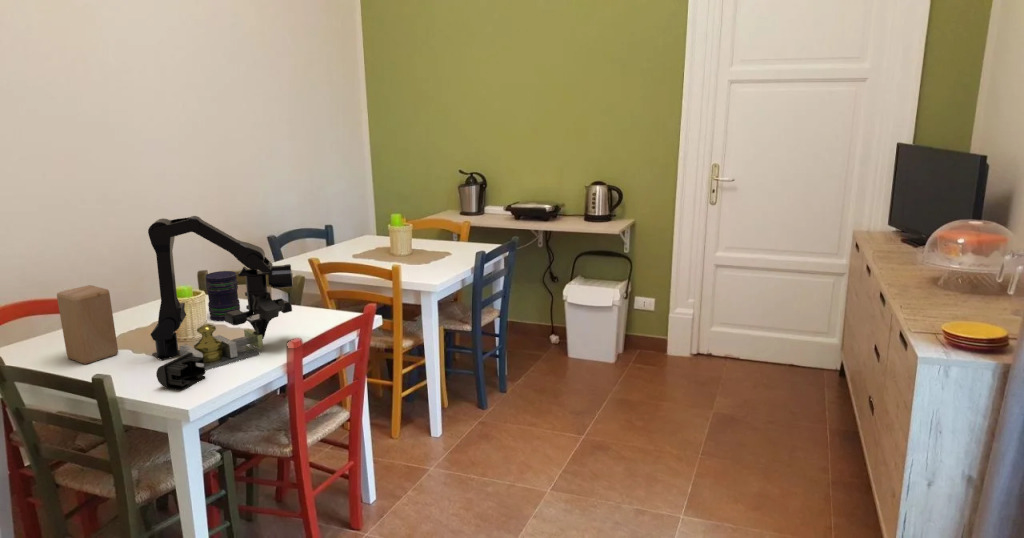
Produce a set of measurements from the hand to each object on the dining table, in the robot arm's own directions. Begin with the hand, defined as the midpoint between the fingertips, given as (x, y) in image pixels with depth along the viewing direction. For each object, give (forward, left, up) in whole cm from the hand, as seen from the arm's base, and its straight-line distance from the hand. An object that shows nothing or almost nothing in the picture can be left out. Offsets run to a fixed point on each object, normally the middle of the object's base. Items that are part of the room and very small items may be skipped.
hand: (261, 339), depth 207 cm
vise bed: (0, -13, -2) cm, 13 cm away
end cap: (+9, -28, -3) cm, 29 cm away
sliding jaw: (0, -7, -1) cm, 7 cm away
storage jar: (-36, +6, -3) cm, 37 cm away
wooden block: (-29, -37, -3) cm, 47 cm away
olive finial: (0, -16, -2) cm, 16 cm away
